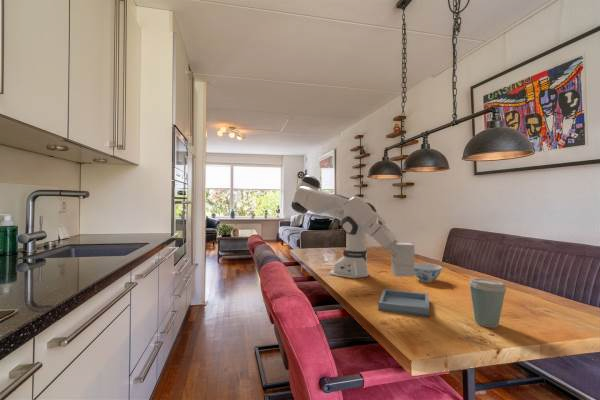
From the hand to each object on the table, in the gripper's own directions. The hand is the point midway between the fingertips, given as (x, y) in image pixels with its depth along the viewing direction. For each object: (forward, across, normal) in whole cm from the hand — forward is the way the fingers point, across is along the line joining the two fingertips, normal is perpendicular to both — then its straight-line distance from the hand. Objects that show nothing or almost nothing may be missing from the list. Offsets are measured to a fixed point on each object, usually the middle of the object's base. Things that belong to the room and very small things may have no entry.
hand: (400, 251), depth 113 cm
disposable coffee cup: (+36, +7, +4) cm, 36 cm away
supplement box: (+7, 0, -6) cm, 10 cm away
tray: (+16, -1, -15) cm, 22 cm away
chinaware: (+23, -43, -8) cm, 49 cm away
